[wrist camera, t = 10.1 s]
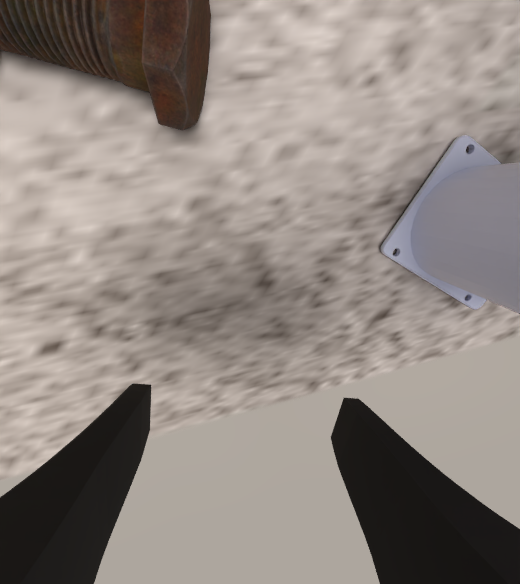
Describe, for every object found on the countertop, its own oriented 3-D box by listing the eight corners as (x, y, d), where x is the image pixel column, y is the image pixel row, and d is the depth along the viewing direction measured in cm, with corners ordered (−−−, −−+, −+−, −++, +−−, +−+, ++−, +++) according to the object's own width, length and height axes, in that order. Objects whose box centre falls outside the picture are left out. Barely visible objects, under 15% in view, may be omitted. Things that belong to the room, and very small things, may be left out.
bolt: (-90, -11, 13) (212, 74, 15) (-134, 72, 12) (193, 152, 14) (-320, -270, 8) (208, -82, 9) (-432, -152, 7) (178, 30, 9)
